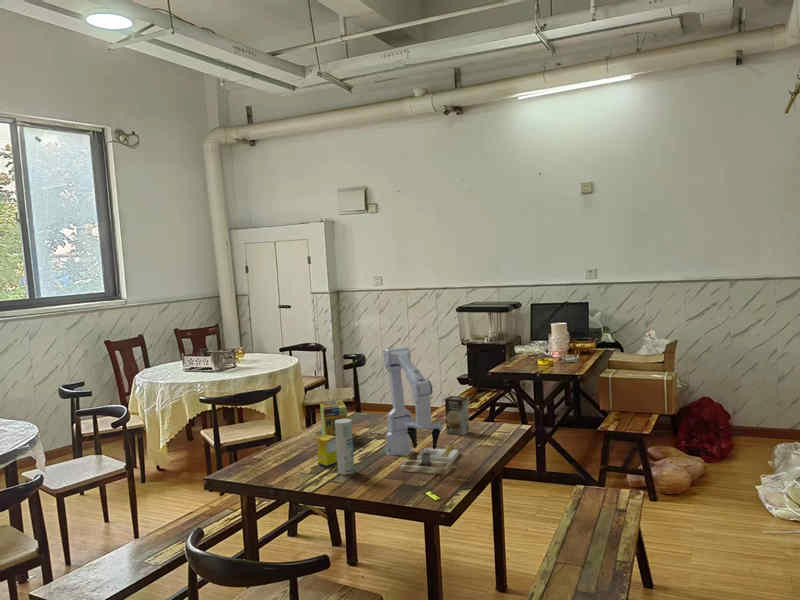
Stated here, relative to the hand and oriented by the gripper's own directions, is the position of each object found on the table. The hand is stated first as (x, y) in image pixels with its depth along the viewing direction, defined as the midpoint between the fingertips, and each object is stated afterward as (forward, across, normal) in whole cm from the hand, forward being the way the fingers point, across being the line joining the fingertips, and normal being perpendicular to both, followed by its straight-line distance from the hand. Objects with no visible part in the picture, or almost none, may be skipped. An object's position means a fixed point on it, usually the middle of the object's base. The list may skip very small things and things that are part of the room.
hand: (425, 447), depth 233 cm
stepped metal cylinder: (+8, 0, 0) cm, 8 cm away
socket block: (+9, +1, +13) cm, 16 cm away
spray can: (+9, -30, -7) cm, 32 cm away
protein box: (+9, -54, +34) cm, 64 cm away
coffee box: (+9, 0, +50) cm, 51 cm away
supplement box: (+9, -41, 0) cm, 42 cm away
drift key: (+8, +5, +15) cm, 18 cm away
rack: (+9, 0, 0) cm, 9 cm away
